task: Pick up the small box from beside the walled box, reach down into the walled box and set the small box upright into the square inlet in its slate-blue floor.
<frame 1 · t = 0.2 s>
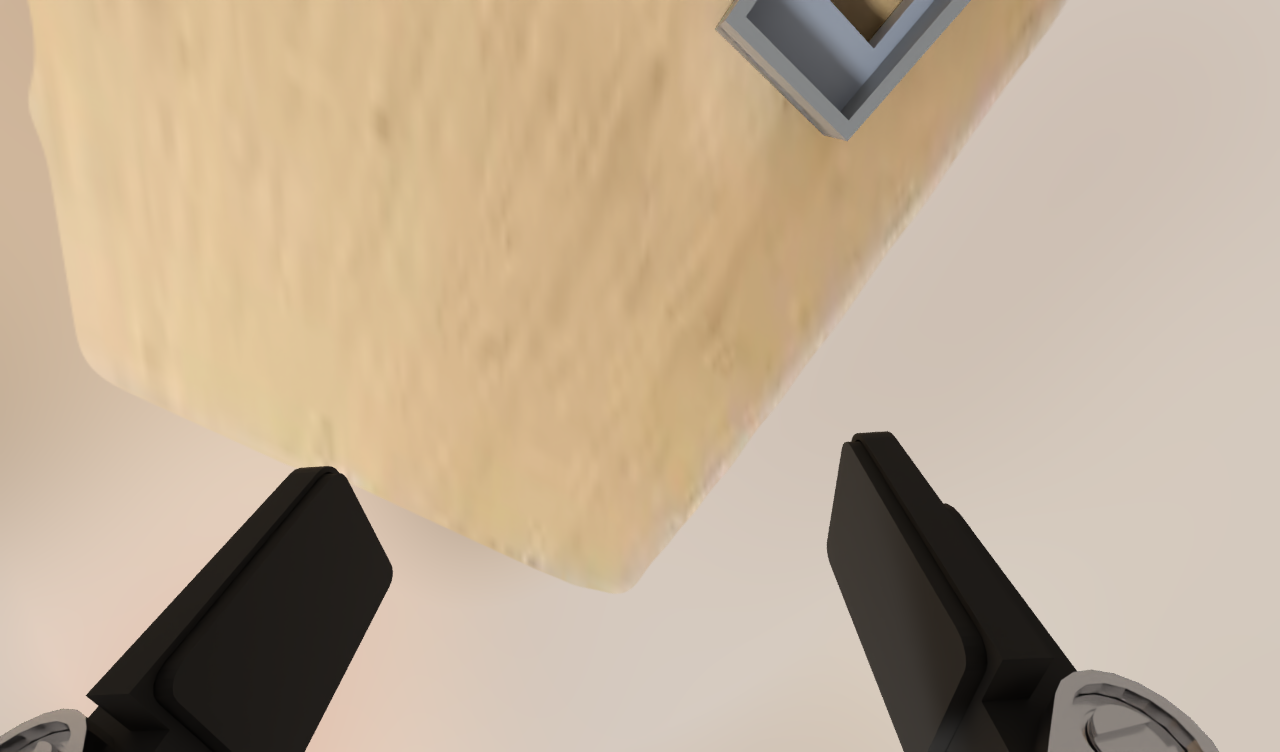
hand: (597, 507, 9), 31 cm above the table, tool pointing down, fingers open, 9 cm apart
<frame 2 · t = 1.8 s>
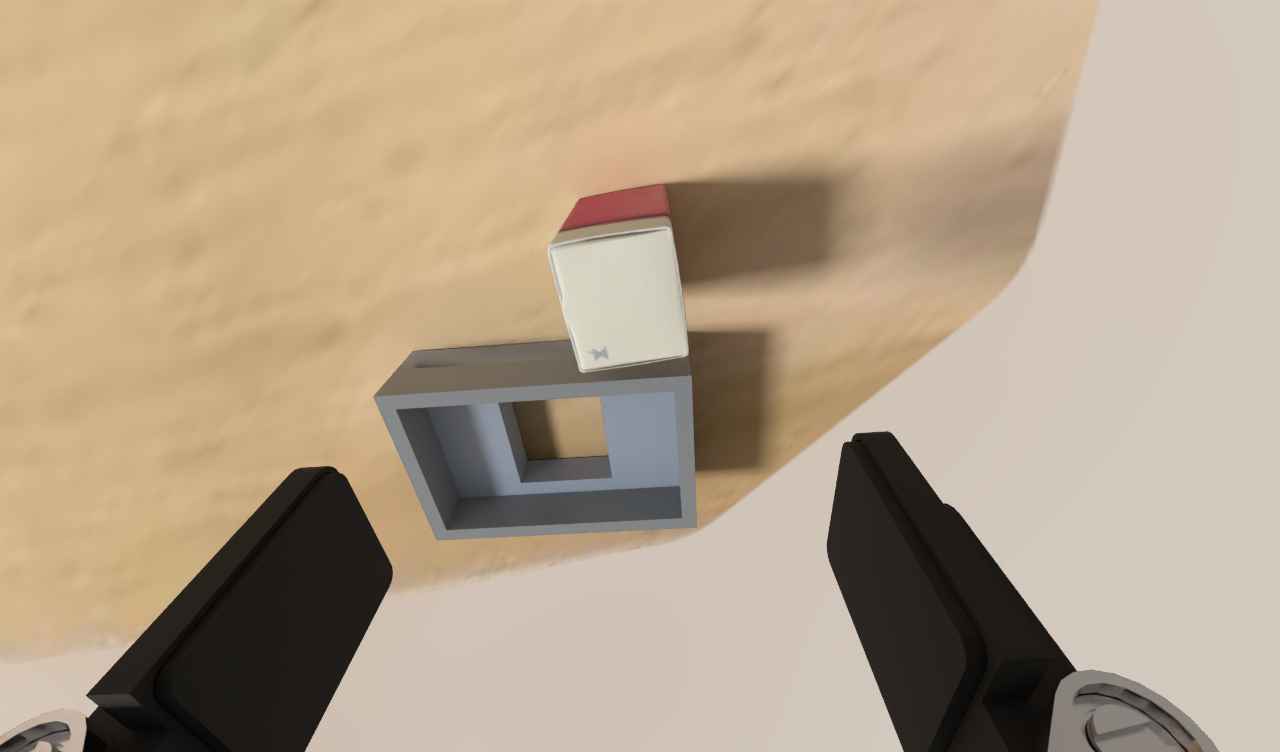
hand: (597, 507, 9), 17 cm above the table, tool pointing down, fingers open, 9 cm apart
small box: (629, 241, 24), on the table
walled box: (562, 416, 29), on the table
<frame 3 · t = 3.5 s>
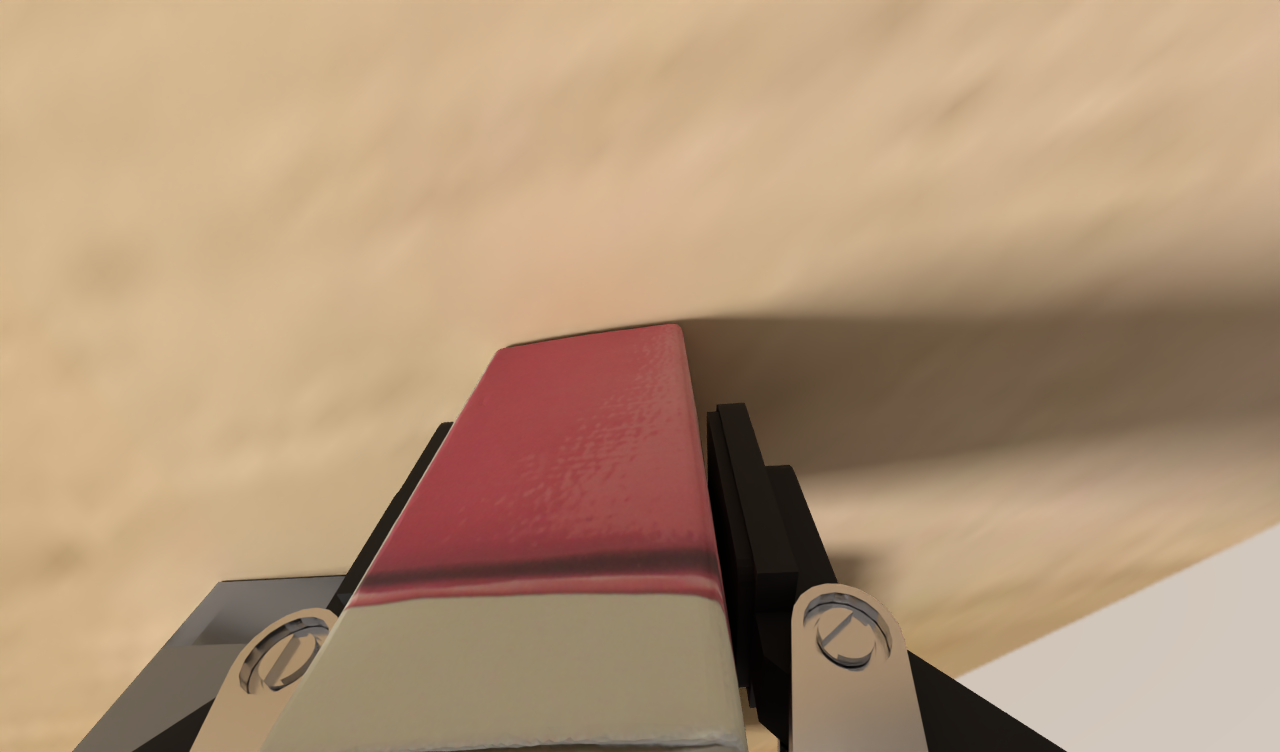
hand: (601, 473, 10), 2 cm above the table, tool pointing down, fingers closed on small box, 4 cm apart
small box: (608, 418, 12), on the table, touching gripper
walled box: (498, 664, 17), on the table
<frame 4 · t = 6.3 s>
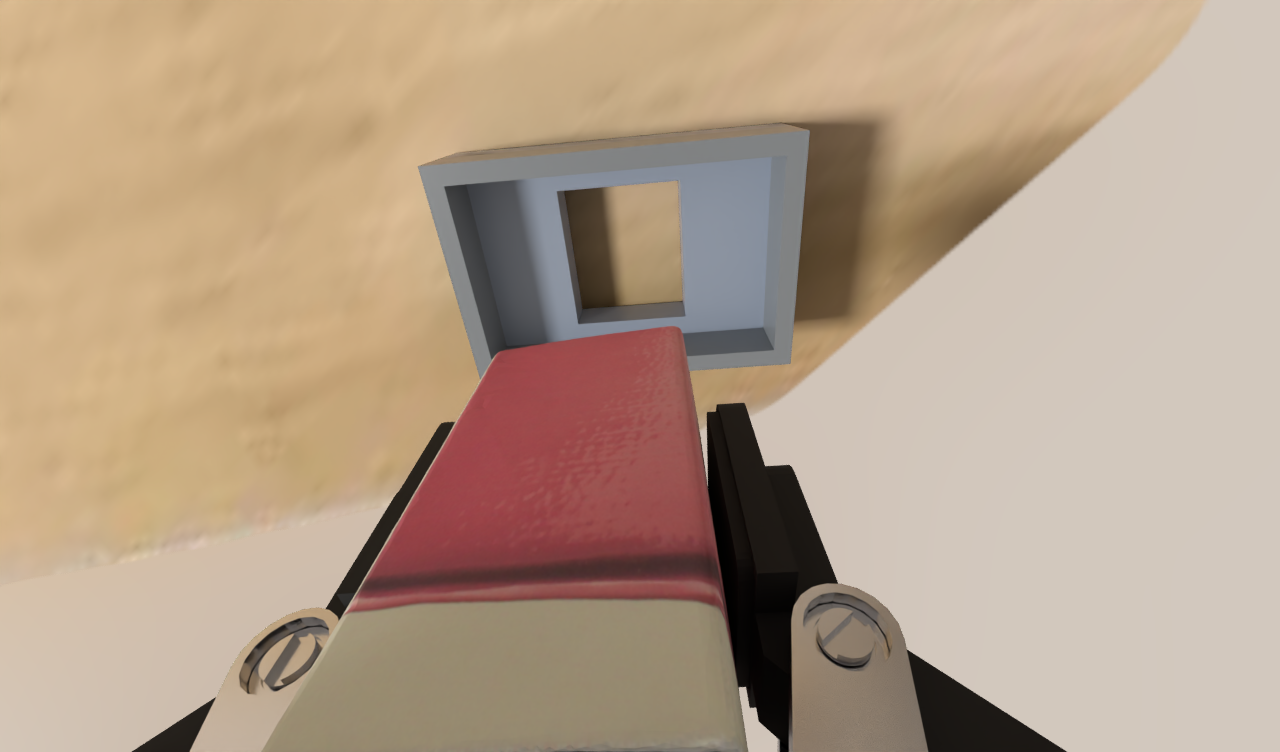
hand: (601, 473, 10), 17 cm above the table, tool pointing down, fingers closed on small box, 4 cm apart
small box: (608, 420, 12), point 15 cm above the table, touching gripper
walled box: (626, 246, 25), on the table
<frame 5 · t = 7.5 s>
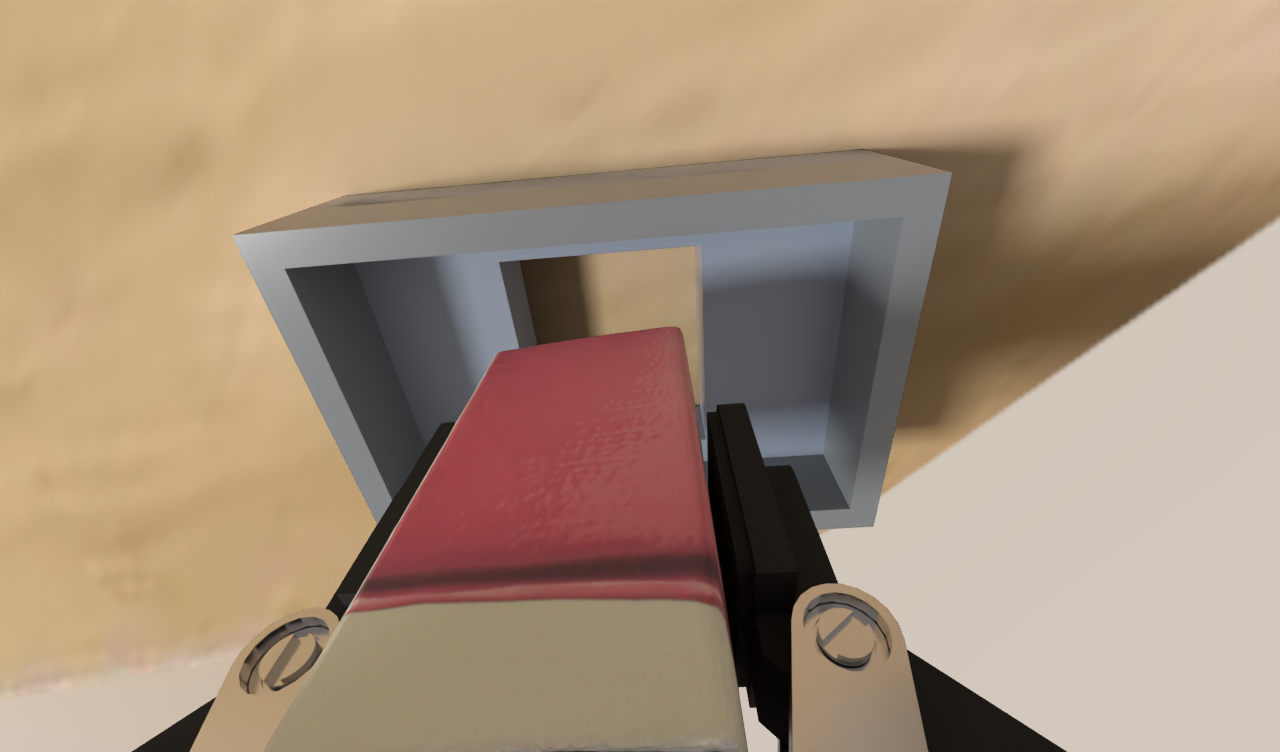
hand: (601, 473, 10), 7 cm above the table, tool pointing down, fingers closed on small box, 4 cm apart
small box: (608, 420, 12), point 5 cm above the table, touching gripper
walled box: (616, 331, 16), on the table
when the fingers open (3 cm above the table, at t = 8.7 s): small box drops 1 cm, resting in walled box.
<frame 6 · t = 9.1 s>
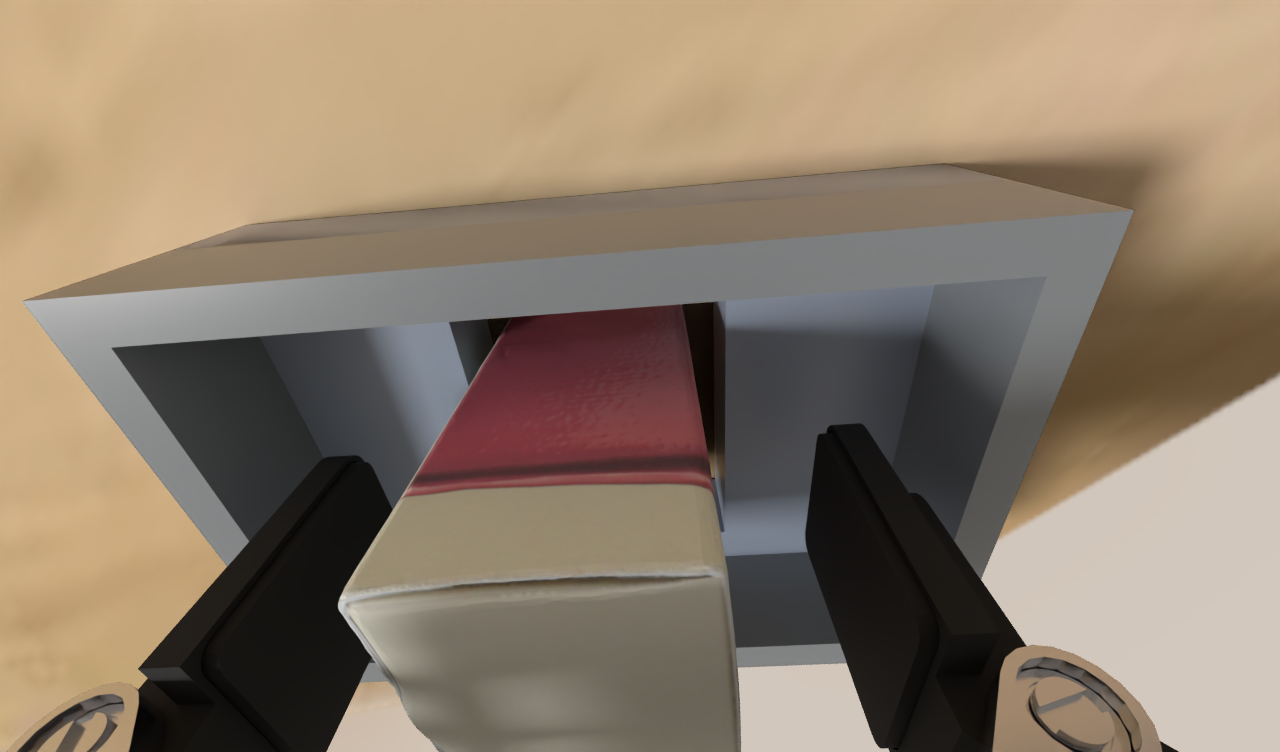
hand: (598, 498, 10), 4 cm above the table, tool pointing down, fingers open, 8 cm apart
small box: (610, 382, 13), resting in walled box
walled box: (610, 392, 13), on the table
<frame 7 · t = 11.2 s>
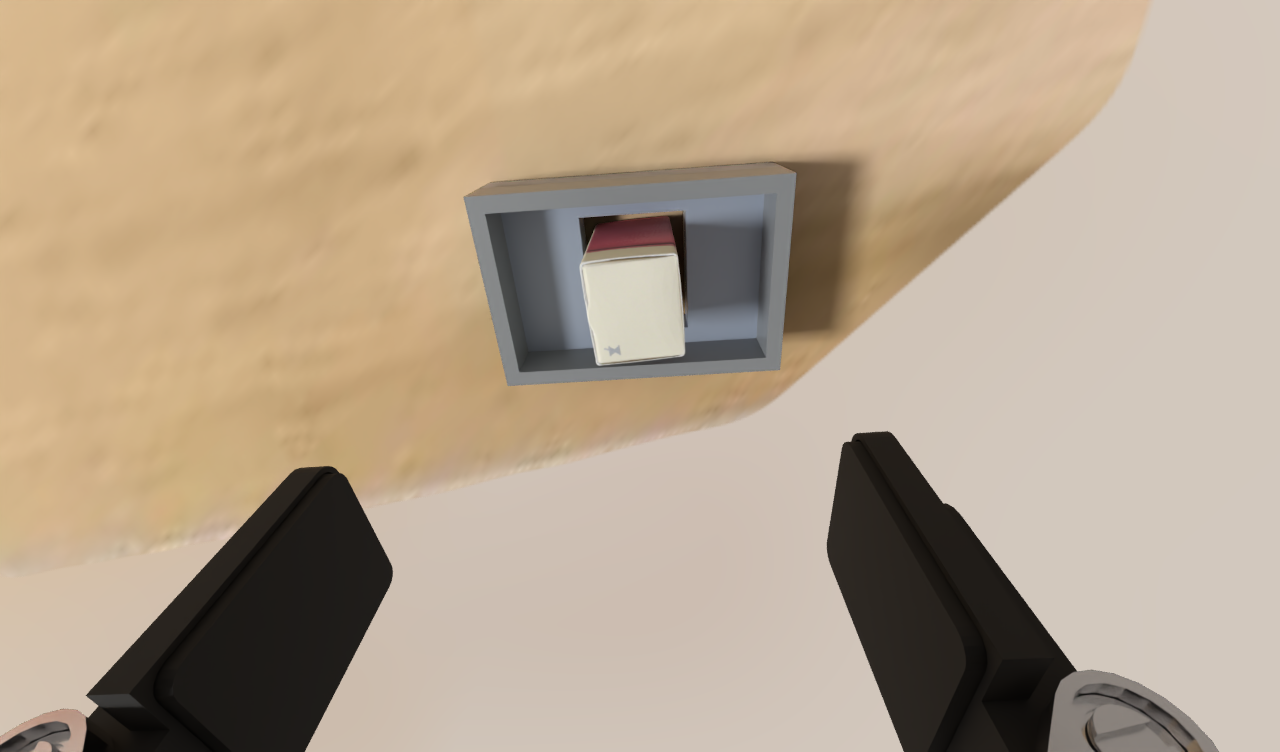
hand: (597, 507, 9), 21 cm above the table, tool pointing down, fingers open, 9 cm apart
small box: (636, 260, 28), resting in walled box
walled box: (636, 264, 28), on the table
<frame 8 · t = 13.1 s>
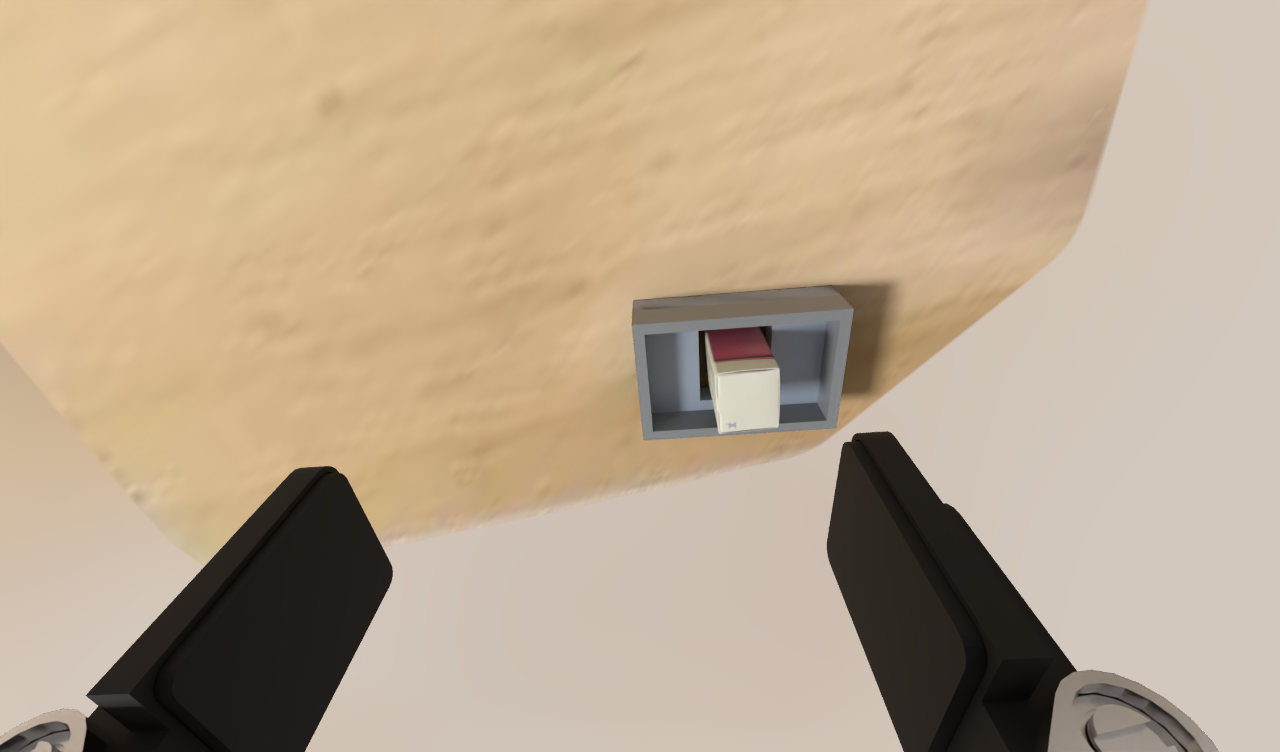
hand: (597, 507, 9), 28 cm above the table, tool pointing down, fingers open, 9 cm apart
small box: (730, 348, 40), resting in walled box
walled box: (730, 351, 39), on the table
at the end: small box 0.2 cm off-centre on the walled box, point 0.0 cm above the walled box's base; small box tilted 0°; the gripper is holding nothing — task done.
